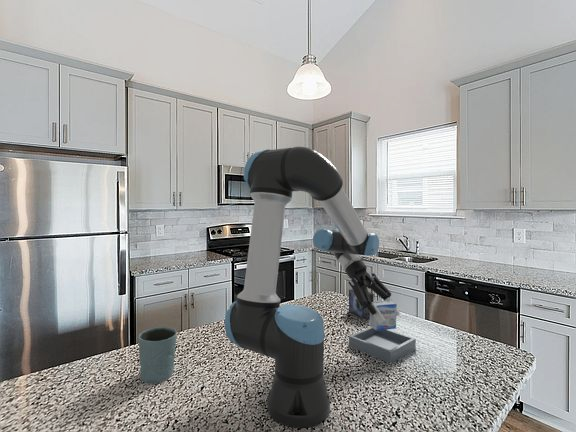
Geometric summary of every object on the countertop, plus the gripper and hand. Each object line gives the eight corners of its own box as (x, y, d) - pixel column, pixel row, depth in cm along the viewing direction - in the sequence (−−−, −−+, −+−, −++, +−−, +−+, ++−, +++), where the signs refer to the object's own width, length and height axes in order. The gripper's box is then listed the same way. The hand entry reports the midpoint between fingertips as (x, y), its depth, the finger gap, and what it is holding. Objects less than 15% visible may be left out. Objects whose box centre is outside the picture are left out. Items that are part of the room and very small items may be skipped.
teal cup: (140, 369, 93) (139, 329, 93) (176, 363, 97) (176, 324, 96) (136, 388, 84) (136, 343, 83) (177, 381, 87) (177, 338, 87)
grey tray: (390, 363, 98) (390, 352, 98) (348, 345, 110) (348, 336, 110) (415, 348, 109) (415, 338, 109) (375, 334, 121) (375, 324, 121)
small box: (347, 311, 146) (347, 289, 146) (358, 309, 149) (359, 287, 149) (361, 319, 137) (362, 295, 136) (373, 317, 139) (374, 293, 139)
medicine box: (375, 331, 107) (376, 305, 106) (369, 326, 111) (369, 301, 110) (396, 328, 109) (397, 303, 108) (389, 324, 113) (389, 300, 113)
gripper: (363, 267, 128) (399, 317, 117) (328, 274, 114) (364, 332, 103) (375, 255, 124) (413, 306, 112) (339, 262, 110) (379, 321, 98)
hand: (390, 318), depth 108 cm, fingers closed on medicine box, 9 cm apart
